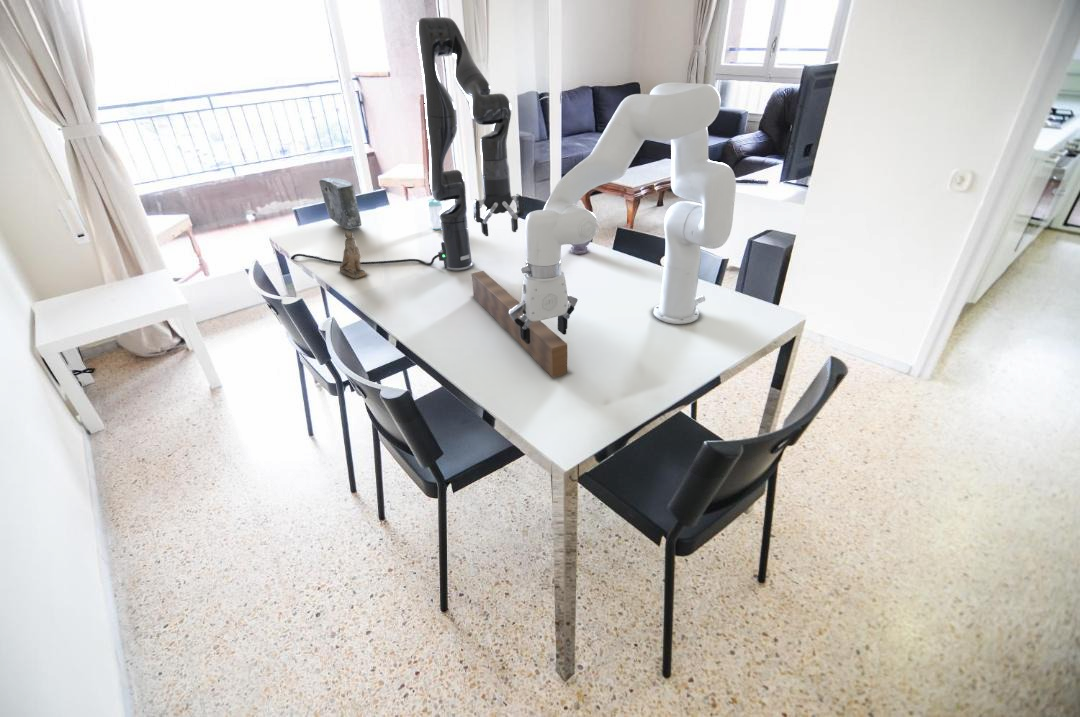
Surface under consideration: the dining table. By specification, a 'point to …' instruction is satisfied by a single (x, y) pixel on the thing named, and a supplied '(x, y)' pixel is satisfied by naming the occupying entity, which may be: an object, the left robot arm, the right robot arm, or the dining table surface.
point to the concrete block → (341, 202)
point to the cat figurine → (579, 248)
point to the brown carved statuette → (351, 258)
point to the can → (435, 213)
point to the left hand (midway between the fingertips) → (500, 233)
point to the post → (542, 339)
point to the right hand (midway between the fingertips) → (544, 336)
